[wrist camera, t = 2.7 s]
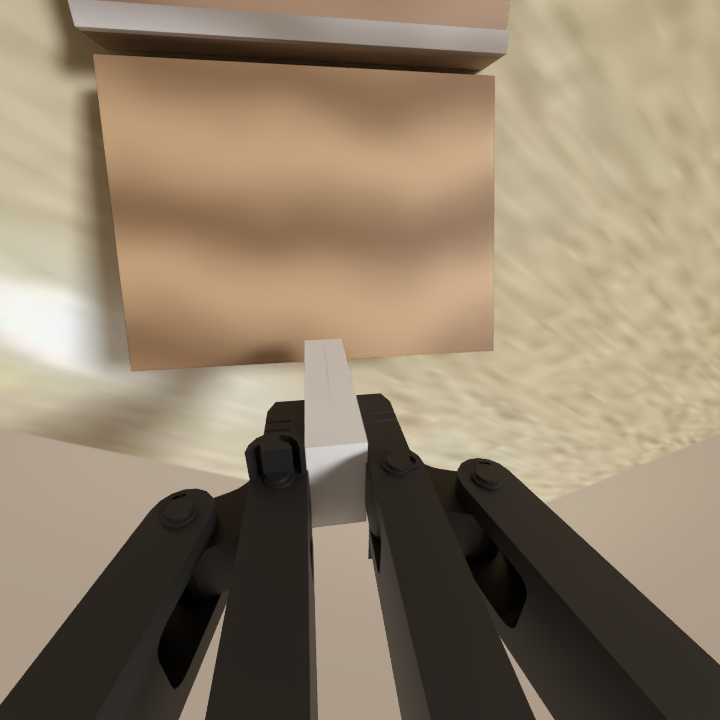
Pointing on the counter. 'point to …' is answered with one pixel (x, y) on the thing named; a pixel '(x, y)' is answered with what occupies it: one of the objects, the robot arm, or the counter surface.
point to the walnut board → (306, 29)
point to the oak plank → (298, 209)
